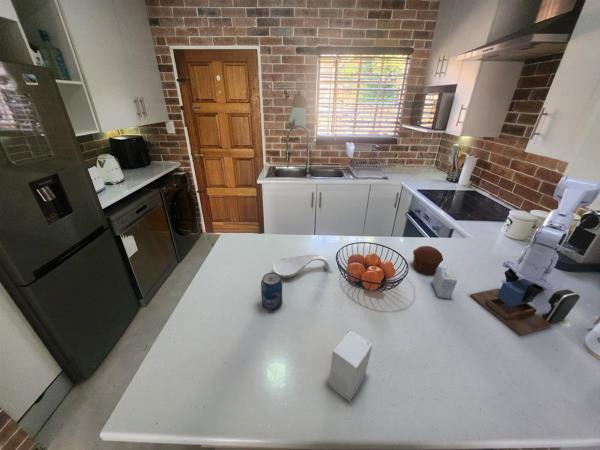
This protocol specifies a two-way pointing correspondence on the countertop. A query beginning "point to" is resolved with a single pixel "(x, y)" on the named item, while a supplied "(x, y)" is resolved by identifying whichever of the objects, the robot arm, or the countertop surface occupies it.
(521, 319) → the mounting pad
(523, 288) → the blue block
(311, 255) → the spoon rest
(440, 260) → the muffin
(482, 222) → the countertop surface
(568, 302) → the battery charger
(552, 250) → the robot arm
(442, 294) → the medicine box
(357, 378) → the small box
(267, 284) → the soda can
